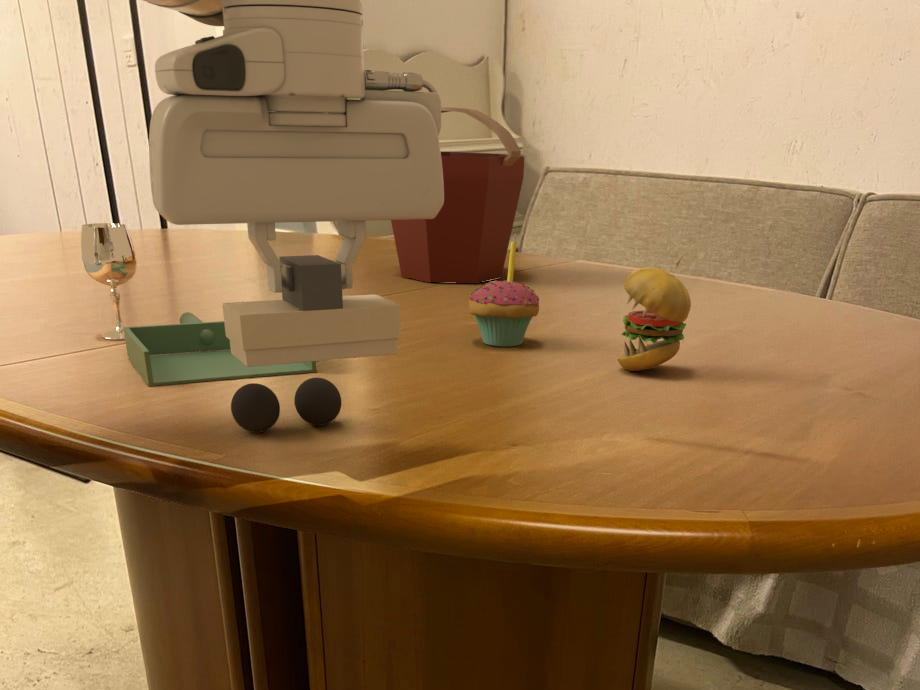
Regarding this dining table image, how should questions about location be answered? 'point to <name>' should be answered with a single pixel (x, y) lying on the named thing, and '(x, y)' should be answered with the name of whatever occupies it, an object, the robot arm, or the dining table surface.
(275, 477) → the dining table surface
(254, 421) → the ball
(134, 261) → the wineglass
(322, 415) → the ball
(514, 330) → the cupcake
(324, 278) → the brush
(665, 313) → the hamburger
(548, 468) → the dining table surface
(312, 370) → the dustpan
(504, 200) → the bucket
